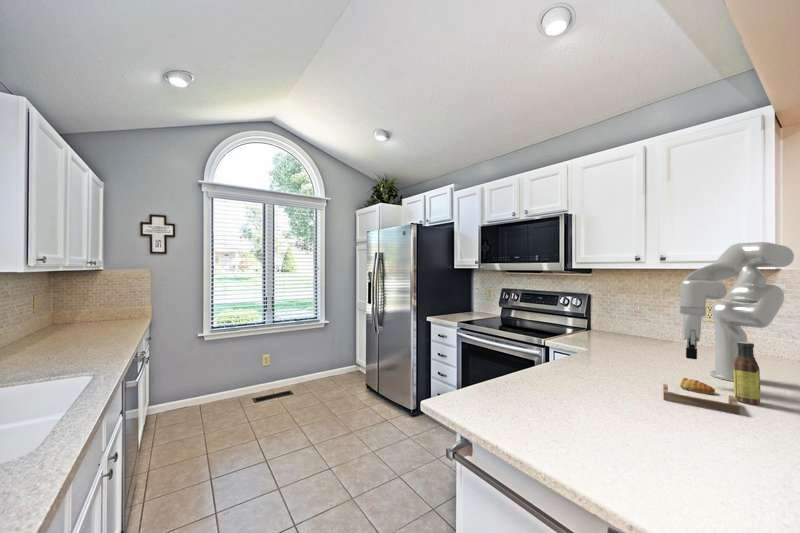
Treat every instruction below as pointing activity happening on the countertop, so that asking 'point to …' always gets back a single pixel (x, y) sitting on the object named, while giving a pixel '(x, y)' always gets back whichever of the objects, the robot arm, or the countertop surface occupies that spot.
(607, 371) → the countertop surface
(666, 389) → the open wooden frame
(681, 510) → the countertop surface
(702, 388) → the pastry
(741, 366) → the sauce bottle
